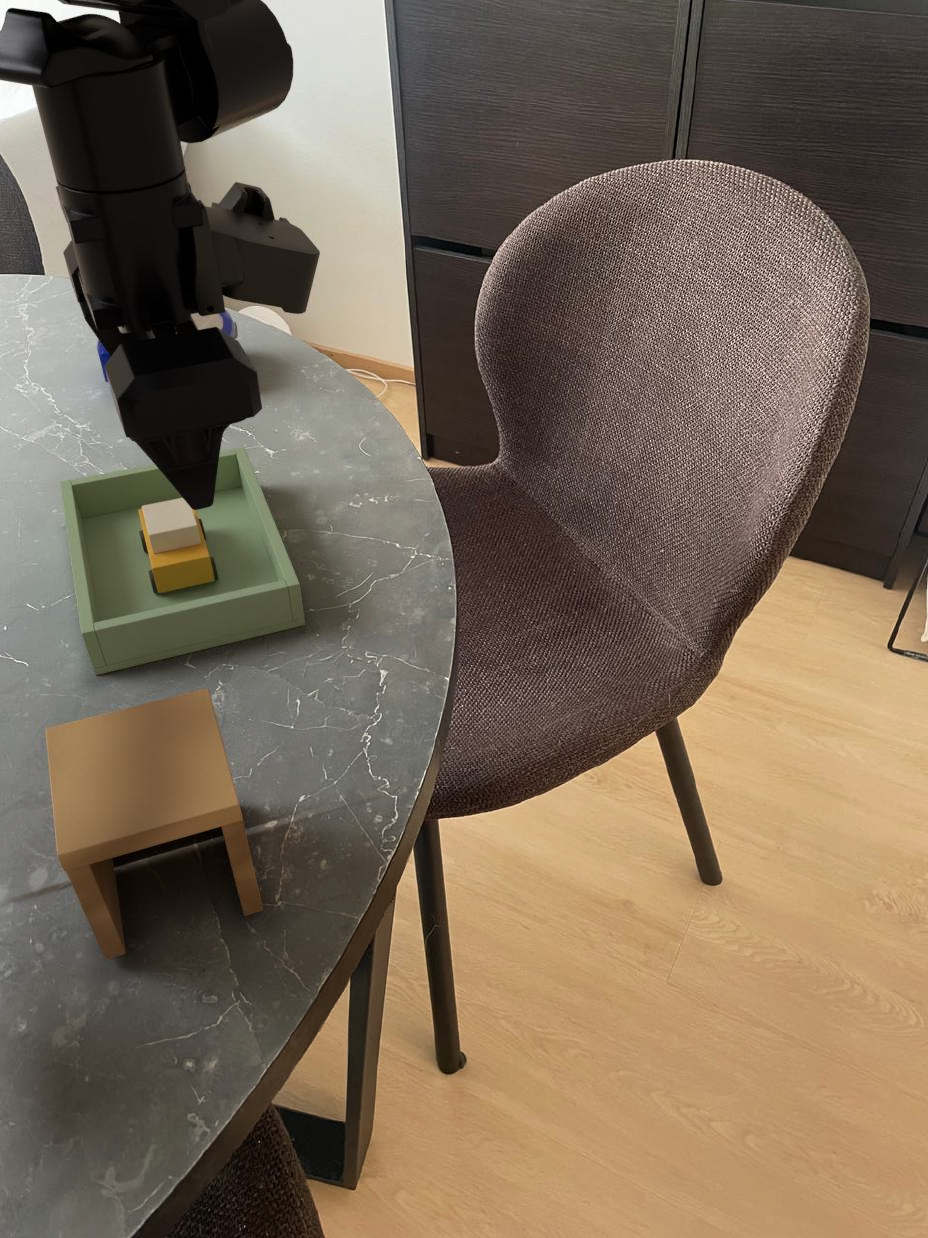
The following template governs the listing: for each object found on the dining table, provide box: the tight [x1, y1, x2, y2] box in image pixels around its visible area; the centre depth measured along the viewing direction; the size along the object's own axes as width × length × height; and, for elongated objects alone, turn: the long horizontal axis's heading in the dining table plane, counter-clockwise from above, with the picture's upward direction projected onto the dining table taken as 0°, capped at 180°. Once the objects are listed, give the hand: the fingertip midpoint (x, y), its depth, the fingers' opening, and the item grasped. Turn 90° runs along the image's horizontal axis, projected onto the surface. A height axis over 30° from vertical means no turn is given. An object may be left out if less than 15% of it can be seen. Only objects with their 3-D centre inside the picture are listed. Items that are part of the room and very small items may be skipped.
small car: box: [138, 498, 218, 593], centre depth 70 cm, size 7×4×4 cm, turn 21°
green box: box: [59, 446, 306, 676], centre depth 70 cm, size 14×18×4 cm
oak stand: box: [44, 687, 264, 960], centre depth 49 cm, size 8×8×9 cm
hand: (183, 462), depth 56 cm, fingers open, 9 cm apart
